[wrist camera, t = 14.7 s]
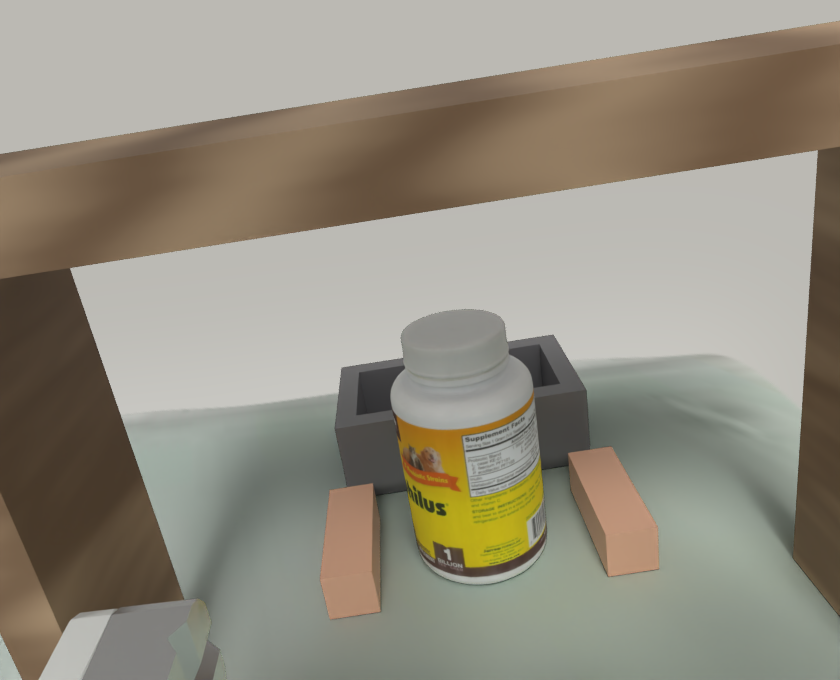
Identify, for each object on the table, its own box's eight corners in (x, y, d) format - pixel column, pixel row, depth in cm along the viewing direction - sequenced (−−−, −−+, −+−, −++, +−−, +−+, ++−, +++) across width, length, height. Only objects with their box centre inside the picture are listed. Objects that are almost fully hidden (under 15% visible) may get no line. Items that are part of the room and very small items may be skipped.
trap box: (350, 499, 36) (334, 428, 34) (354, 429, 42) (341, 367, 41) (591, 462, 36) (586, 389, 34) (558, 397, 42) (553, 334, 41)
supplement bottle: (402, 530, 33) (363, 322, 29) (514, 494, 34) (490, 290, 30) (444, 611, 28) (403, 372, 24) (573, 565, 29) (553, 331, 25)
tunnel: (98, 837, 22) (-204, 209, 14) (162, 654, 28) (-23, 157, 21) (968, 705, 21) (1105, 1, 14) (831, 551, 28) (878, 14, 21)
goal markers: (330, 619, 29) (319, 579, 28) (337, 525, 34) (329, 489, 33) (659, 568, 28) (657, 527, 28) (613, 483, 34) (611, 446, 33)
